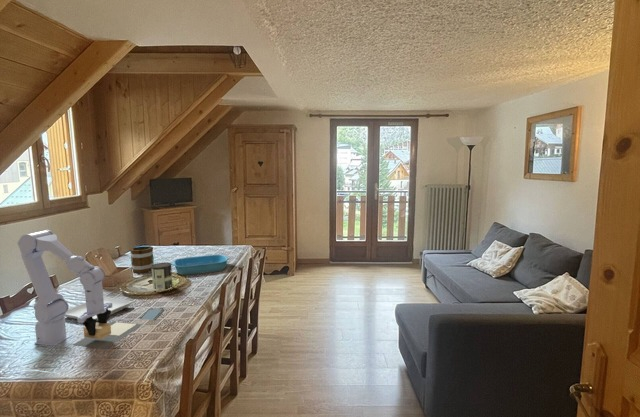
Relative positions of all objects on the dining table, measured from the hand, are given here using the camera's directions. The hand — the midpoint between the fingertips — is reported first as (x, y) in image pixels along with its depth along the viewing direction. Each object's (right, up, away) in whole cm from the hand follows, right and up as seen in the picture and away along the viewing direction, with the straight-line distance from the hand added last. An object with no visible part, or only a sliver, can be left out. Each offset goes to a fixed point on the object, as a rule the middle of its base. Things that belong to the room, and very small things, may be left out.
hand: (97, 332), depth 134 cm
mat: (+1, -3, +6) cm, 7 cm away
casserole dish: (+9, +8, +92) cm, 93 cm away
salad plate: (-17, -1, +27) cm, 32 cm away
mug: (-31, +8, +94) cm, 99 cm away
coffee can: (-1, +3, +57) cm, 57 cm away
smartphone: (+9, -2, +23) cm, 25 cm away
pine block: (0, -1, 0) cm, 1 cm away
